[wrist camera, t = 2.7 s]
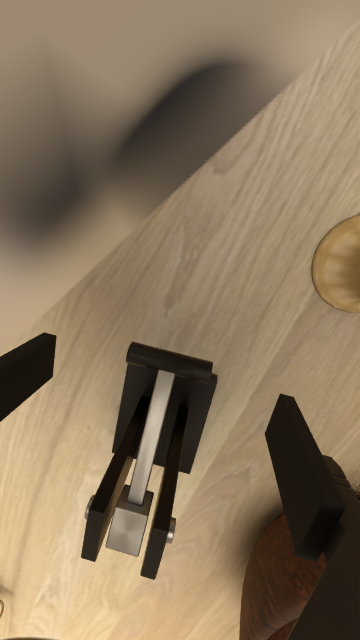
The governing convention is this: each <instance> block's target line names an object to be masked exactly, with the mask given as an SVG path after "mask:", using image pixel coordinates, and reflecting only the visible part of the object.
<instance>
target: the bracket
mask: <svg viewBox="0 0 360 640" xmlns="http://www.w3.org/2000/svg"><path fill="white" fill-rule="evenodd" d="M157 375H158V371H156V370H152V369H149V368H145V367H141V366H137V365H133V364H129V363H128V366H127V371H126V377H125V382H124V388H123V393H122V399H121V404H120V410H119V416H118V421H117V427H116V432H115V438H114V443H113V449H112V453H115V454H114V456H113V458H112V460H111V462H110V464H109V467H108V469H107V471H106V473H105V475H104V477H103V479H102V482H101V484H100V486H99V488H98V490H97V492H96V494H95V495H92V497H91V498H90V500H89V503H88V505H87V508H86V512H85V519H87V522H86V529H85V535H84V541H83V547H82V553H81V558H83V559H87V560H90V561H93V562H95V561H96V559H97V556H98V553H99V550H100V548H101V545H102V542H103V540H104V537H105V534H106V532H107V529H108V526H109V524H110V521H111V518H112V515H113V513H114V510H115V506H116V504H117V501H118V499H119V497H120V494H121V491H122V489H123V486H124V483H125V480H126V478H127V475H128V472H129V470H130V467H131V464H132V462H133V459H137V456H138V452H139V448H140V444H141V440H142V436H143V432H144V428H145V423H146V419H147V415H148V411H149V407H150V403H151V399H152V395H153V391H154V387H155V383H156V379H157ZM216 384H217V375H214V374H211V376H210V380H209V382H208V384H206V383H202V382H198V381H194V380H191V379H187V378H183V377H179V376H175V378H174V382H173V386H172V390H171V394H170V398H169V402H168V406H167V410H166V414H165V418H164V422H163V426H162V430H161V434H160V438H159V442H158V446H157V450H156V454H155V458H154V462H153V464H155V465H158V466H162V467H164V471H163V475H162V480H161V484H160V489H159V493H158V498H157V502H156V507H155V511H154V516H153V520H152V524H151V529H150V533H149V538H148V542H147V547H146V551H145V556H144V560H143V564H142V569H141V573H140V574H141V576H143V577H146V578H150V579H153V580H155V578H156V575H157V571H158V568H159V564H160V561H161V558H162V554H163V551H164V547H165V544H166V542H167V543H172V540H173V536H174V531H175V526H176V518H173V517H171V516H172V510H173V503H174V497H175V491H176V485H177V478H178V472H179V471H180V472H183V473H187V474H190V472H191V468H192V465H193V462H194V458H195V455H196V451H197V448H198V445H199V441H200V438H201V435H202V431H203V428H204V425H205V421H206V418H207V415H208V411H209V408H210V405H211V401H212V398H213V394H214V391H215V388H216Z"/></svg>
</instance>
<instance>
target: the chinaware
mask: <svg viewBox="0 0 360 640" xmlns="http://www.w3.org/2000/svg"><path fill="white" fill-rule="evenodd" d="M0 604H1V606H2V611H1V614H0V618H1V616H2V614H3V611H4V603H3V601H2V600H0Z"/></svg>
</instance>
